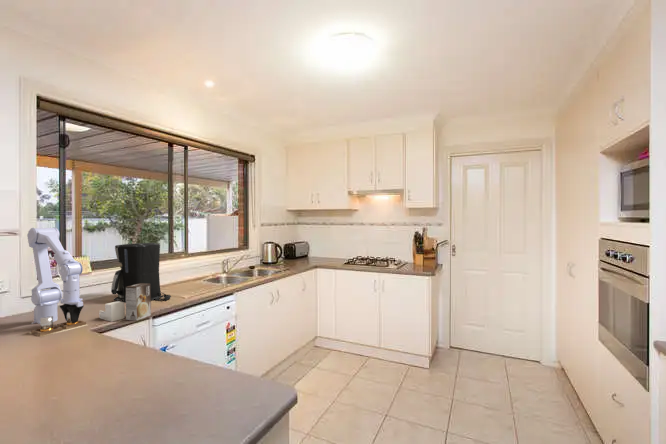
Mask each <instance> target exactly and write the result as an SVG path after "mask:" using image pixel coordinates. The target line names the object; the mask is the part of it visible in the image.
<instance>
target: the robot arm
mask: <svg viewBox="0 0 666 444" xmlns="http://www.w3.org/2000/svg"><path fill="white" fill-rule="evenodd" d="M27 232H28V233H27V235H26V236H27V240H28V241H27V243H28V246H29V247H30V248H32V253H33V258H34V264H35V270H36V277H37V285H35V286H34V287H33V288H32V289H31V298H30V300H31V303H32V304H33V305H35V307H34V308H33V321H32V322H31V324H38V325H40V318H42V317H46V316H53V323H54V322H57V321H58V320H59V319H58V304H59V303H60V304H62V305H59V308H60V310H61V312H62V313H63V316H64V320H65V322H67V312H69V313H70V318H71V322H72V323H73V322H77V321H78V320H79V319H80V318H79V317H80V314H81V311H82V309H83V308H84V306H85V305H84V301H83V298H80V297H81V295H80V293H81V292H80V291H81V290H80V289H81V288H80V276H81V275H82V274H83V271H84V270H83V265H82V263H81V262H79V261H78V260H75V259H74V257H73V256H72V254H71V253H70V251H69V250H65V249H64V247H63V245H62V243H61V241H60V231H59V229H58V228H57V227H31V228H30V229H29V230H28V231H27ZM49 248H50V249H51V251H52V252H53V253H54V256H53V258H54V260H55V262H56V263H57V265H58V266H59V274H60V276H61V279H60V280H61V281H62V289H61V286H60V284H59V283H56V282H54V281H53V276H52V275H53V274H52V270H51V268H52V267H51V264H50V263H51V262H50V258H49V252H48V249H49ZM62 290H63V291H62Z"/></svg>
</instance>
